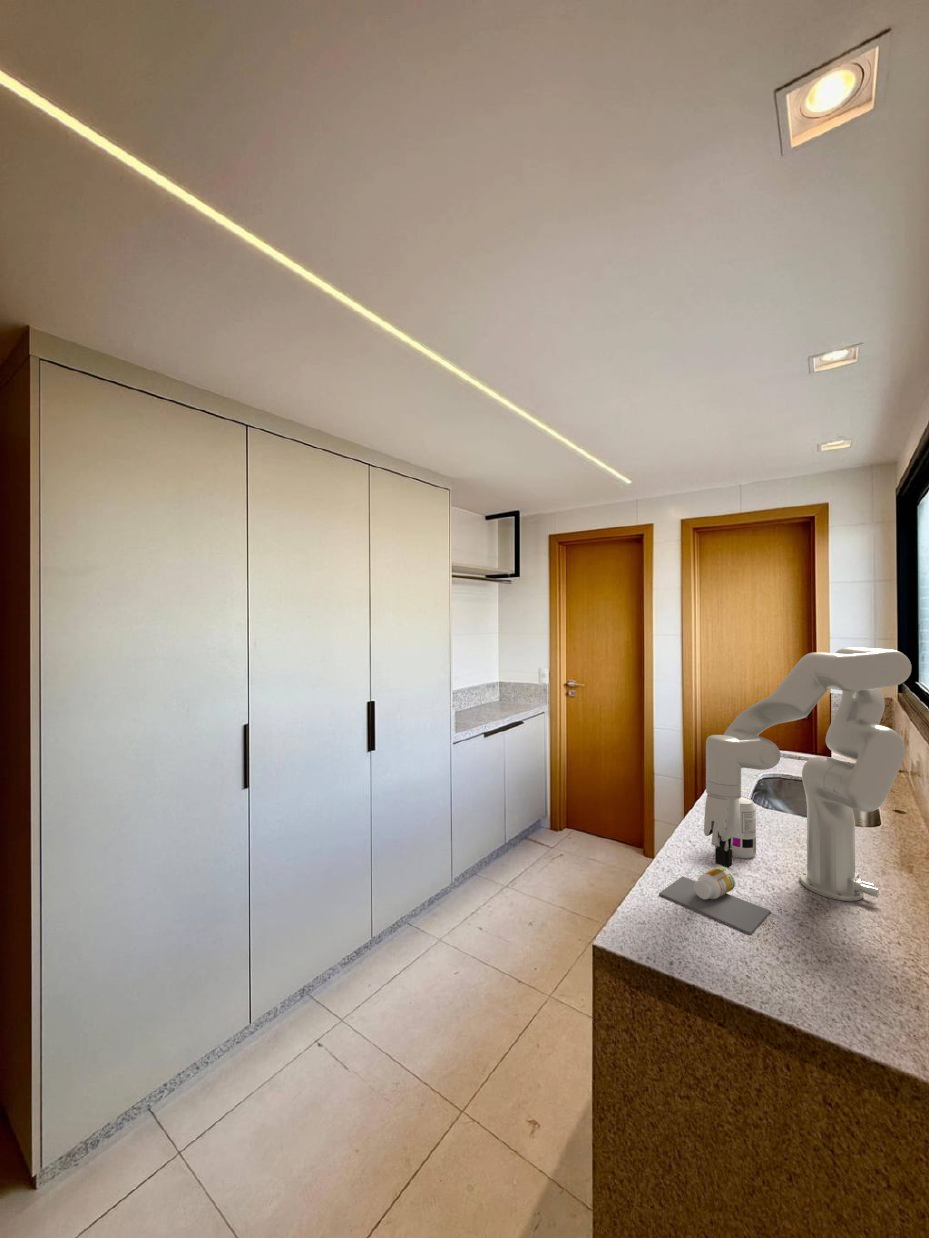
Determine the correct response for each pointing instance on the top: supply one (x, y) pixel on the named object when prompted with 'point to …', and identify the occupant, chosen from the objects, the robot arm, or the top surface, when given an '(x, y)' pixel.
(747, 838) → the supplement can
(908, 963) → the top surface
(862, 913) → the top surface
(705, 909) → the mat
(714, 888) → the supplement bottle
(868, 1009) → the top surface
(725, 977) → the top surface
